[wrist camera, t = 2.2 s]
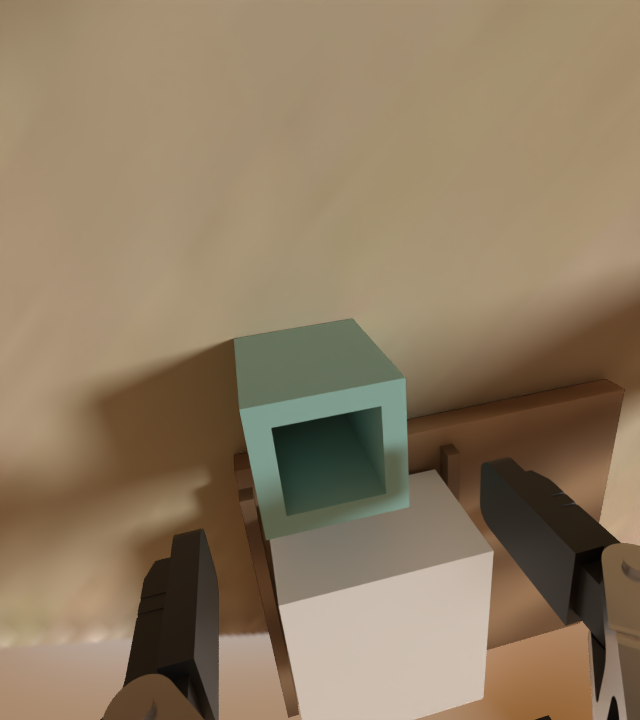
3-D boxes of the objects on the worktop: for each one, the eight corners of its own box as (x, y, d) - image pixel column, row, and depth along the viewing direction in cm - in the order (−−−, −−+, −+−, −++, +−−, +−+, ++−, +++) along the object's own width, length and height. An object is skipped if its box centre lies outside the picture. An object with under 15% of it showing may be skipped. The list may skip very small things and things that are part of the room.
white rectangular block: (265, 506, 20) (278, 606, 15) (434, 469, 21) (493, 551, 16) (291, 640, 24) (308, 751, 19) (435, 601, 25) (483, 698, 20)
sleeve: (233, 338, 18) (239, 409, 13) (352, 318, 19) (405, 377, 13) (253, 441, 20) (266, 540, 15) (360, 420, 21) (409, 506, 16)
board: (233, 455, 20) (238, 563, 15) (605, 379, 23) (730, 446, 17) (285, 686, 27) (301, 819, 22) (566, 606, 30) (646, 707, 24)
